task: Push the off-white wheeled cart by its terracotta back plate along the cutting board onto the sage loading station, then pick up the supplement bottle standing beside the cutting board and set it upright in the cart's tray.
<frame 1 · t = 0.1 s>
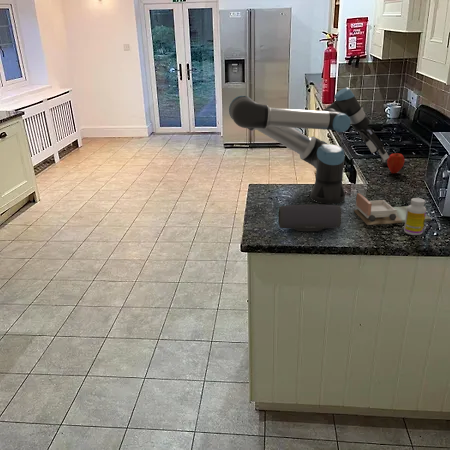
hand: (380, 155, 211), 15 cm above the countertop, tool tilted 35°, fingers open, 13 cm apart
supplement bottle: (412, 232, 168), on the countertop
door handle: (393, 163, 253), on the countertop
bluetooth speaker: (308, 229, 173), on the countertop
apple: (393, 173, 235), on the countertop
cutting board: (391, 216, 182), on the countertop
cart: (376, 205, 180), point 5 cm above the countertop, slide at -7.0 cm
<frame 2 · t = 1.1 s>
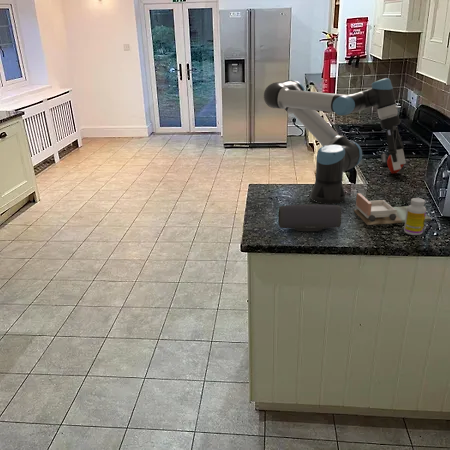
hand: (400, 166, 189), 16 cm above the countertop, tool tilted 20°, fingers open, 13 cm apart
nothing on the countertop moved.
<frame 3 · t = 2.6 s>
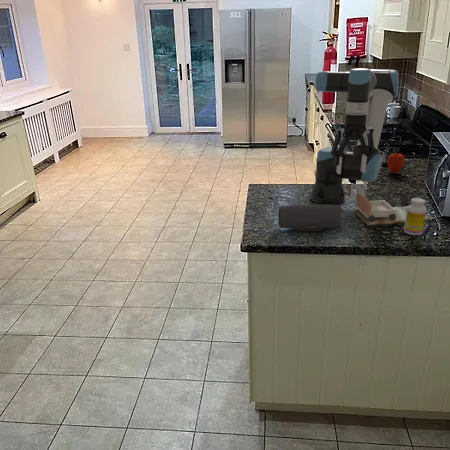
hand: (350, 172, 173), 19 cm above the countertop, tool pointing down, fingers open, 9 cm apart
nothing on the countertop moved.
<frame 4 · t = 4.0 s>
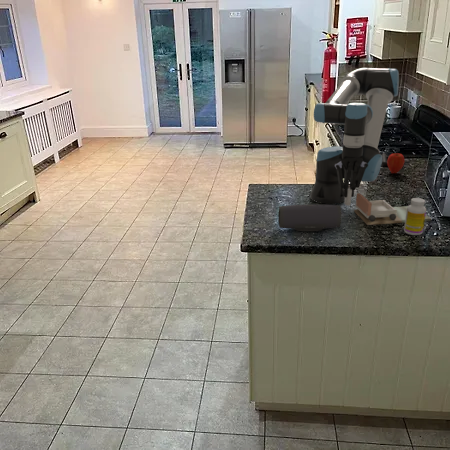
hand: (347, 204, 178), 6 cm above the countertop, tool pointing down, fingers closed
nothing on the countertop moved.
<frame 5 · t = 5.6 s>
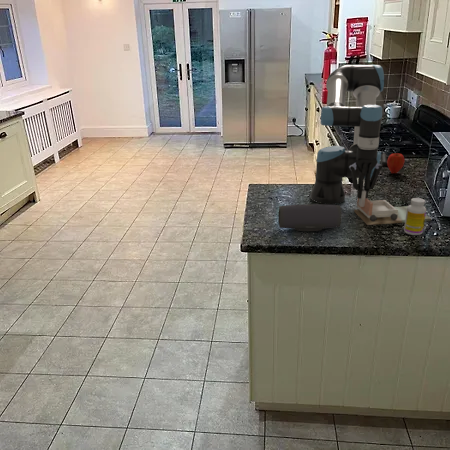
hand: (361, 205, 179), 5 cm above the countertop, tool pointing down, fingers closed
cart: (377, 205, 180), point 5 cm above the countertop, slide at -6.5 cm, touching gripper
everything else where it was.
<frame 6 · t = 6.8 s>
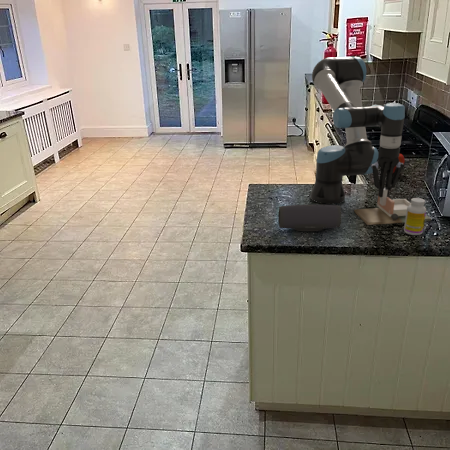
hand: (382, 204, 180), 6 cm above the countertop, tool pointing down, fingers closed
cart: (398, 204, 181), point 5 cm above the countertop, slide at 2.2 cm, touching gripper
everything else where it was.
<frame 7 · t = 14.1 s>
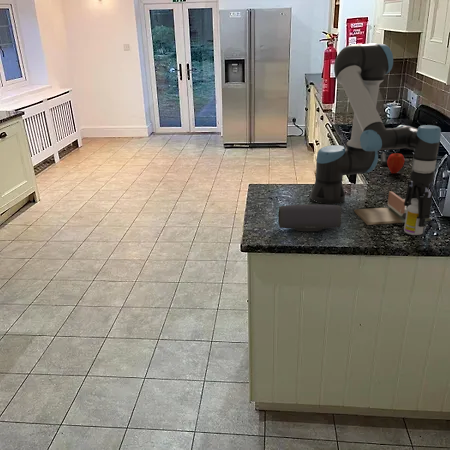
hand: (413, 229, 168), 1 cm above the countertop, tool pointing down, fingers closed on supplement bottle, 7 cm apart
supplement bottle: (412, 232, 168), on the countertop, touching gripper
cart: (408, 203, 181), point 5 cm above the countertop, slide at 6.7 cm
when the fingers open (6 cm above the countertop, at t = 19.9 s): supplement bottle drops 2 cm, resting on cart.
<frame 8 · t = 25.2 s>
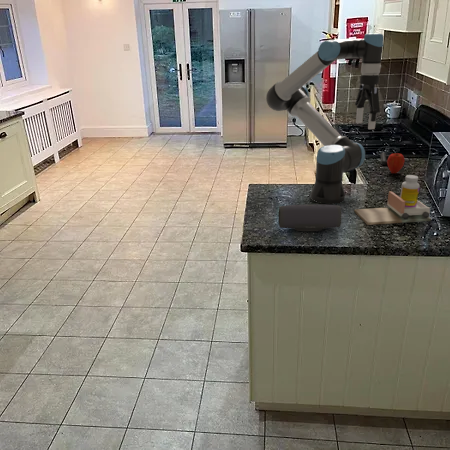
hand: (364, 126, 193), 32 cm above the countertop, tool pointing down, fingers open, 13 cm apart
supplement bottle: (407, 207, 182), point 3 cm above the countertop, touching cart
cart: (408, 203, 181), point 5 cm above the countertop, slide at 6.6 cm, touching supplement bottle
at the end: cart slide at 6.6 cm; supplement bottle 0.4 cm from the target spot, point 3.3 cm above the countertop; supplement bottle tilted 0° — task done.
